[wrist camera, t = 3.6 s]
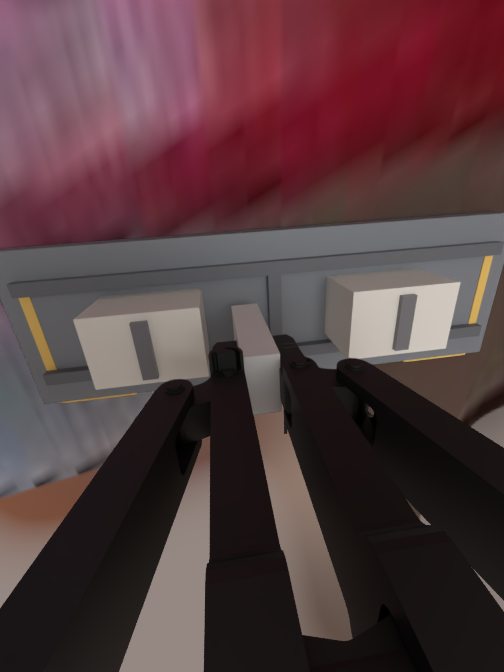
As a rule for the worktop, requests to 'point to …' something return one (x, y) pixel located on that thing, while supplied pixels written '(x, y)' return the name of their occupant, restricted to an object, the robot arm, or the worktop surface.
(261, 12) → the worktop surface
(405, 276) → the slider
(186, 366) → the slider
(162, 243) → the grey slider track
